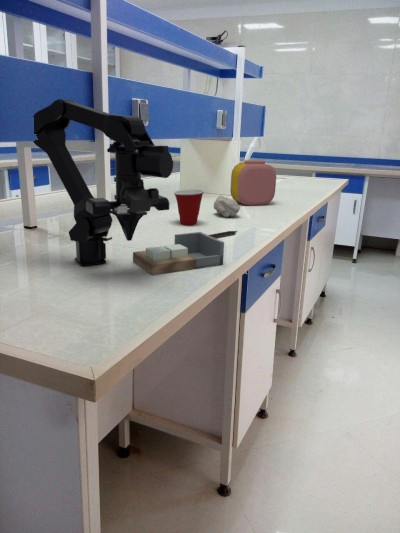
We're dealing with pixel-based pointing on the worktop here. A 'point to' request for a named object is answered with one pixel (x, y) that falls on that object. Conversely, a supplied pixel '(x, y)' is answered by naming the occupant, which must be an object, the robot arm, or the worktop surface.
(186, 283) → the worktop surface
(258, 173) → the alarm clock
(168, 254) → the tile
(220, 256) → the box
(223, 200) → the fossil replica
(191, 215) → the plastic cup
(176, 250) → the tile
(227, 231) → the knife
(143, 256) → the walnut ledge
